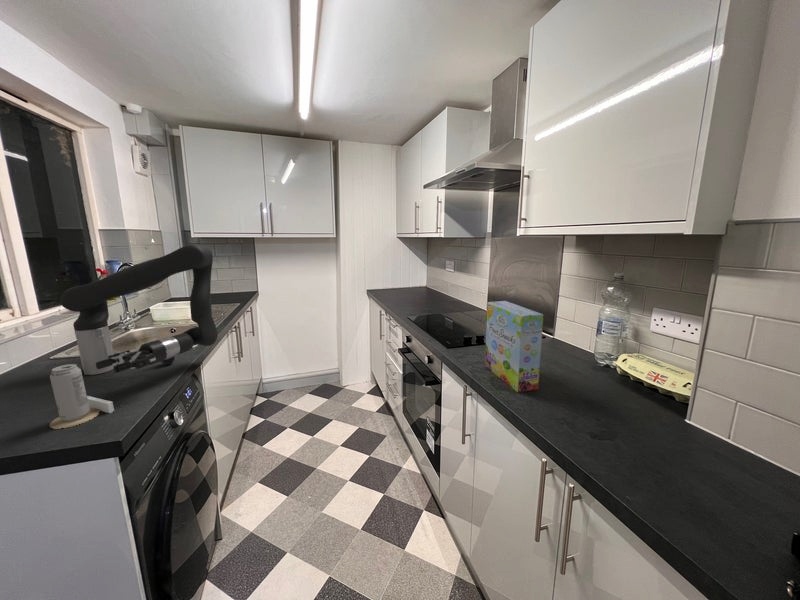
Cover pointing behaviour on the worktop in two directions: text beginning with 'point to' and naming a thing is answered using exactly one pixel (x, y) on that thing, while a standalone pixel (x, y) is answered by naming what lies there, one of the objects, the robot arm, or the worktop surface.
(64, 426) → the cork coaster
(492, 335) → the snack box
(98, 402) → the white rectangular bar
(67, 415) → the energy drink can
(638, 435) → the worktop surface
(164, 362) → the hand grenade
